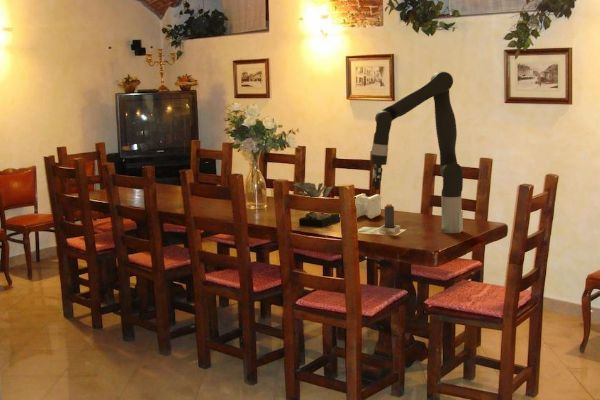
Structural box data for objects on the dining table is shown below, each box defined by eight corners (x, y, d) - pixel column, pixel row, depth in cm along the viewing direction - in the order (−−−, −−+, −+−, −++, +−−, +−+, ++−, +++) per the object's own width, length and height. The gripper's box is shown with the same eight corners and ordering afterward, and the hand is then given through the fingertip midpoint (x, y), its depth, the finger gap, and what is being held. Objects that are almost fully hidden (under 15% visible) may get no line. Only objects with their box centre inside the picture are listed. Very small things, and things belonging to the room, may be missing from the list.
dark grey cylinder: (395, 231, 354) (395, 203, 352) (392, 232, 350) (391, 205, 348) (386, 230, 356) (386, 203, 354) (383, 232, 352) (383, 204, 350)
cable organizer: (364, 213, 408) (363, 192, 406) (382, 214, 403) (381, 193, 401) (353, 218, 395) (352, 197, 393) (371, 220, 390) (371, 198, 388)
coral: (318, 229, 371) (317, 186, 367) (284, 226, 382) (283, 184, 378) (343, 220, 391) (342, 179, 388) (311, 217, 402) (309, 178, 399)
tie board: (406, 232, 357) (406, 224, 356) (396, 238, 345) (396, 230, 344) (363, 229, 367) (363, 222, 366) (352, 235, 354) (352, 227, 354)
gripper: (389, 156, 340) (385, 191, 343) (385, 153, 354) (381, 187, 357) (373, 154, 340) (369, 189, 342) (369, 151, 354) (366, 185, 357)
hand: (375, 188), depth 350 cm, fingers open, 8 cm apart
